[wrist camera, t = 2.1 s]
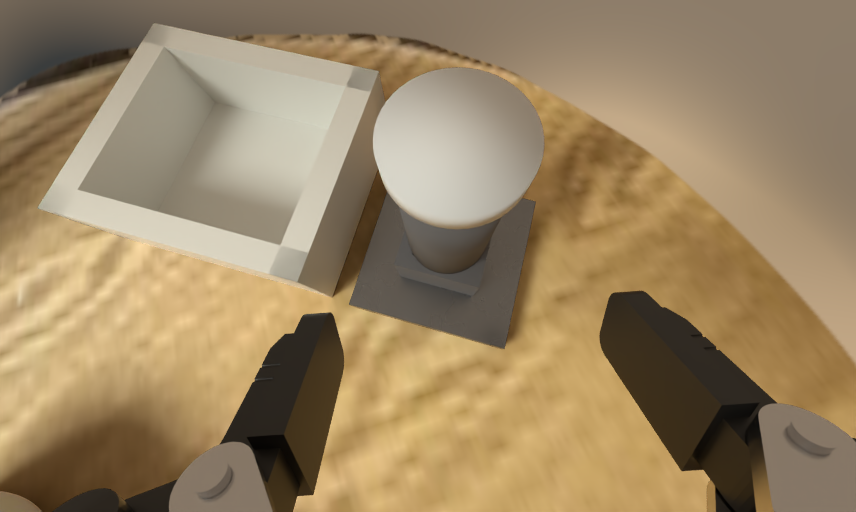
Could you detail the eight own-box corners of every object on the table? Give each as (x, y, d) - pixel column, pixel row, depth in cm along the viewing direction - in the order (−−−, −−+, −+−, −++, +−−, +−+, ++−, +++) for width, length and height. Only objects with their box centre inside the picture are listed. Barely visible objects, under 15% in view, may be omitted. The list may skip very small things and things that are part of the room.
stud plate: (354, 306, 22) (335, 298, 18) (397, 178, 24) (389, 143, 20) (499, 348, 21) (516, 349, 17) (529, 210, 23) (550, 180, 19)
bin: (131, 240, 24) (37, 208, 18) (212, 89, 27) (153, 22, 21) (332, 297, 22) (297, 282, 17) (391, 130, 25) (378, 71, 20)
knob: (398, 277, 21) (349, 192, 9) (419, 207, 22) (401, 53, 10) (473, 298, 20) (525, 236, 9) (491, 225, 22) (557, 86, 10)
